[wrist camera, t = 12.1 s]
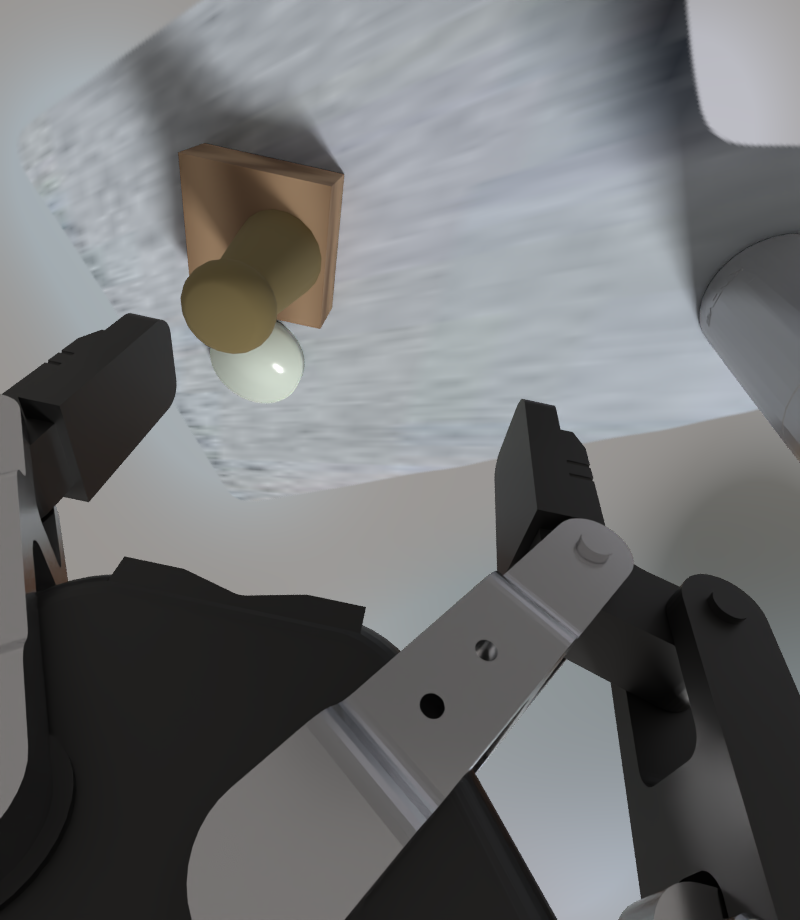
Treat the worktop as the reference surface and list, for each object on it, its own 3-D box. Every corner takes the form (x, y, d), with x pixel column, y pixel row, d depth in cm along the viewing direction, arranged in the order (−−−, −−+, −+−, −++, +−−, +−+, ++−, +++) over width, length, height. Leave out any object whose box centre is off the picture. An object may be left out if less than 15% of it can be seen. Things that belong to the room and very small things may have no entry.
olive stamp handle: (232, 280, 38) (160, 348, 29) (243, 195, 34) (164, 245, 26) (311, 309, 39) (263, 384, 30) (330, 228, 35) (281, 289, 26)
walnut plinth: (344, 174, 36) (331, 186, 33) (331, 308, 43) (320, 328, 40) (204, 143, 36) (178, 152, 33) (212, 282, 42) (191, 300, 39)
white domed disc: (308, 323, 44) (302, 333, 43) (302, 400, 49) (297, 411, 48) (216, 303, 44) (207, 311, 43) (220, 382, 49) (212, 392, 48)
